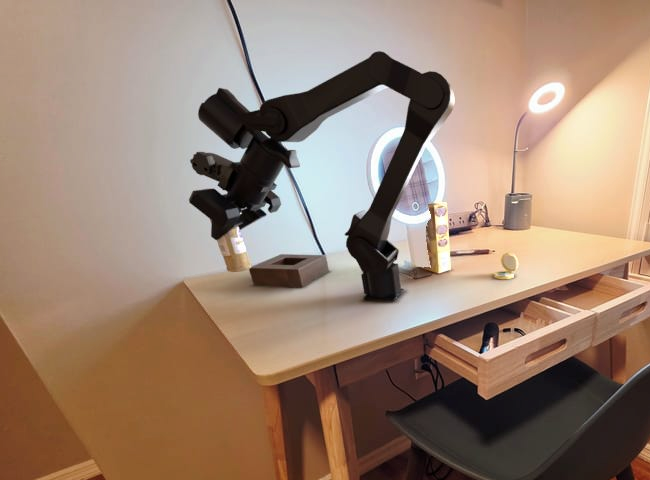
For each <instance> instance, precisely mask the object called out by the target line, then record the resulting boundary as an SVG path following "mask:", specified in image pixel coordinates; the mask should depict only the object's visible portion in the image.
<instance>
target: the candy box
mask: <svg viewBox="0 0 650 480" xmlns="http://www.w3.org/2000/svg"><path fill="white" fill-rule="evenodd" d="M438 202H439V203H431V204H428V207H429V211H430V214H431V219H430V220H429V221H428V223H427V226H426V242H427V250H428V255H429V261H430V265H431V268H430V267H424V268H422V269H423V270H426V271H430V272H433V273H436V274H442V273H444V272H447V271H451V252H450V233H449V217H448V215H449V214H448V213H449V212H448V202H445V201H438Z"/></svg>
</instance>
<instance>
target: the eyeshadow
mask: <svg viewBox="0 0 650 480" xmlns="http://www.w3.org/2000/svg"><path fill="white" fill-rule="evenodd" d="M500 263H501V265H502V268H503V269H504V270H497V271H495V272H494V274H493V276H494V278H495V279H498V280H510V279H512V278H515V277H514V276H515V275H514V272H515V271H516V270H517V269H518V267H519V260H518V258H517V256H516V255H515V254H514V253H512V252H505V253H504V254H502V256H501V258H500Z"/></svg>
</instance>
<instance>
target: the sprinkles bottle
mask: <svg viewBox="0 0 650 480" xmlns="http://www.w3.org/2000/svg"><path fill="white" fill-rule="evenodd" d="M208 219H209V221H210V222H209V223H210V224H212V220H211V219H210V218H208ZM216 242H217V246H218V248H219V250H220V253H221V255H222V257H223V260H224V263H225V265H226V271H227V272H230V273H241V272H245V271H249V269H250V268H251V267H252V266H253V265H252V264H251V262H250V258H249V255H248V253H247V247H246V245H245V242H244V239H243V236H242V233H241V230H240V229H239V227H238V226H237V227H236V228H234V229H233V230H231V231H230V232H229V233H227V234H226V235H224V236H223V237H221V238H219V239H218V240H216Z"/></svg>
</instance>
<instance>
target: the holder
mask: <svg viewBox="0 0 650 480" xmlns="http://www.w3.org/2000/svg"><path fill="white" fill-rule="evenodd" d="M248 272H249V274H250V277H251V278H250V279H251V281H252V284H253V286H258V287H279V288H280V287H282V288H283V287H284V288H304V287H306V286H307V285H309V284H311V283H312V282H314V281H316V280H318V279H319V278H321V277H322V276H324V275H326V274H328V273H329V272H330V268H329V264H328V259H327V255H326V254H292V253H291V254H290V253H289V254H287V253H282V254H281V253H280V254H278V255H275V256H273V257H271V258H269V259H266V260H264V261H261V262H259V263H257V264H254V265H252V267H251V268H250V269H248Z"/></svg>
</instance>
